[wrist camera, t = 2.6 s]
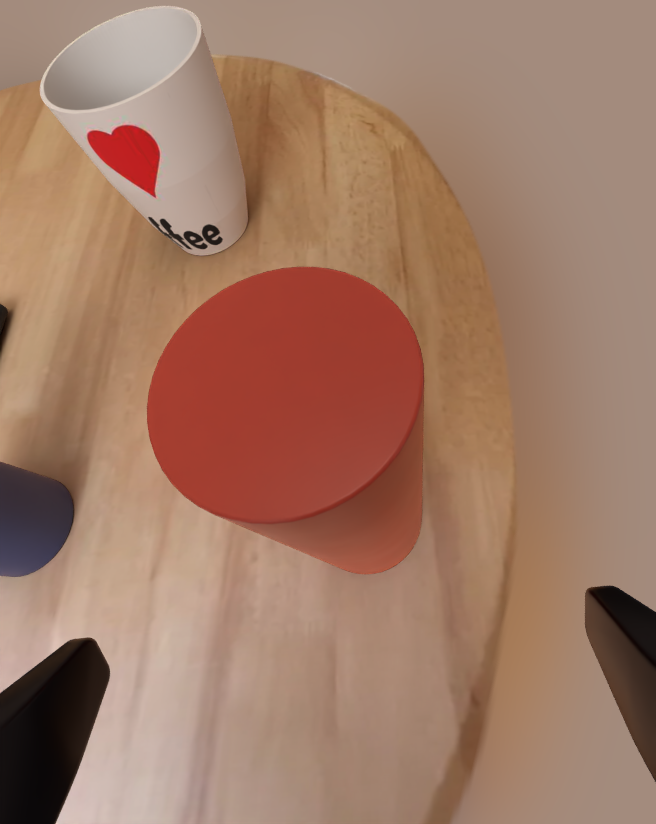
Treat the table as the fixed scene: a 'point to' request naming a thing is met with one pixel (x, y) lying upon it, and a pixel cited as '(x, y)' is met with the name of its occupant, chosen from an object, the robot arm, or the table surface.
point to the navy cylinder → (31, 520)
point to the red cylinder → (298, 415)
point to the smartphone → (2, 316)
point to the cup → (155, 123)
